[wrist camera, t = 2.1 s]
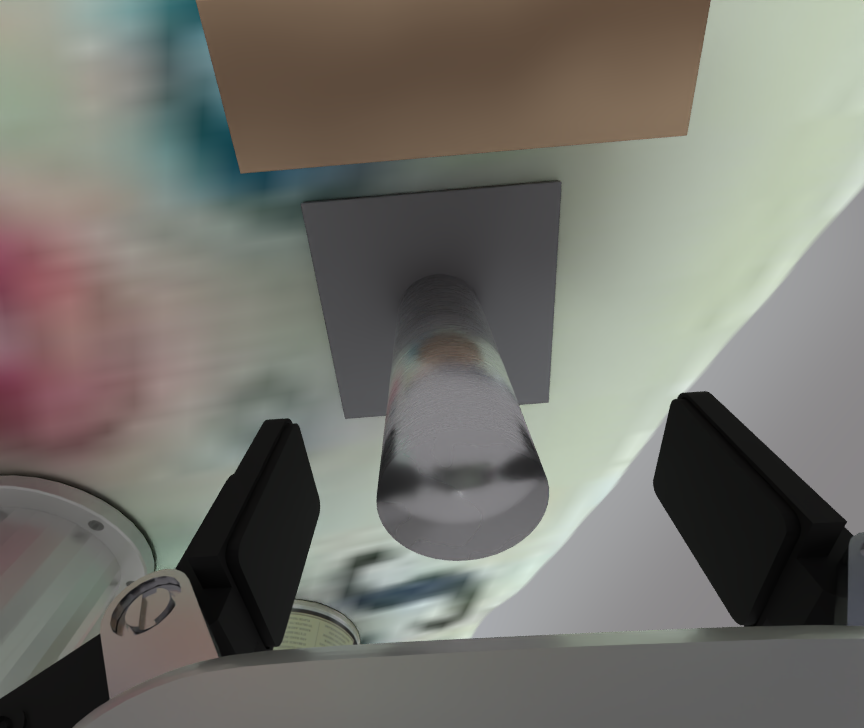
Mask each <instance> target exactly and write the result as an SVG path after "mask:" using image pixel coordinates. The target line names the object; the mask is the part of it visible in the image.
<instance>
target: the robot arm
mask: <svg viewBox="0 0 864 728" xmlns="http://www.w3.org/2000/svg"><path fill="white" fill-rule="evenodd" d="M653 486H654V491H655V493H656V495H657V497H658V499H659V500H660V502H661V503H662V505H663V507H664V508H665V510H666V512H667V513H668V515H669V516H670V518H671V520H672V521H673V523H674V525H675V526H676V528H677V529H678V531H679V533H680V534H681V536H682V537H683V539H684V541H685V542H686V544H687V546H688V547H689V549H690V550H691V552H692V554H693V555H694V557H695V558H696V560H697V561H698V563H699V565H700V567H701V568H702V570H703V571H704V573H705V574H706V576H707V578H708V579H709V581H710V583H711V584H712V586H713V588H714V589H715V591H716V592H717V594H718V596H719V597H720V599H721V601H722V602H723V604H724V605H725V607H726V609H727V610H728V612H729V613H730V615H731V617H732V618H733V619H734V620H735V622H736V623H738V624H740V625H744V627H722V628H698V629H675V630H649V631H625V632H602V633H580V634H558V635H536V636H515V637H494V638H473V639H453V640H434V641H415V642H396V643H377V644H358V645H340V646H326V647H312V648H298V649H284V650H273V648H274V647H279V646H280V645H281V643H282V641H283V638H284V634H285V631H286V628H287V624H288V621H289V617H290V614H291V610H292V607H293V603H294V600H295V596H296V593H297V590H298V586H299V583H300V579H301V576H302V572H303V569H304V565H305V562H306V558H307V555H308V551H309V548H310V545H311V541H312V538H313V534H314V531H315V527H316V524H317V520H318V517H319V513H320V500H319V496H318V492H317V489H316V485H315V481H314V478H313V474H312V470H311V467H310V463H309V460H308V456H307V452H306V449H305V445H304V442H303V438H302V434H301V431H300V427H299V425H298V424H292V421H291V420H290V419H288V418H286V419H271V420H265V421H264V423H263V424H262V426H261V428H260V430H259V431H258V433H257V435H256V437H255V438H254V440H253V442H252V444H251V445H250V447H249V449H248V451H247V452H246V454H245V456H244V458H243V459H242V461H241V463H240V465H239V466H238V468H237V470H236V472H235V473H234V474H233V475H231V476H230V477H229V478H228V480H227V481H226V483H225V484H224V486H223V488H222V489H221V491H220V493H219V495H218V496H217V498H216V500H215V502H214V503H213V505H212V507H211V508H210V510H209V512H208V514H207V515H206V517H205V519H204V520H203V522H202V524H201V526H200V527H199V529H198V531H197V533H196V534H195V536H194V538H193V539H192V541H191V543H190V545H189V546H188V548H187V550H186V551H185V553H184V555H183V557H182V558H181V560H180V562H179V563H178V565H177V567H176V569H164V570H159V571H155V572H154V558H153V555H152V551H151V548H150V547H149V545H148V543H147V541H146V539H145V538H144V536H143V534H142V533H141V532H140V531H139V530H138V529H137V527H136V526H135V525H134V524H133V523H132V522H131V521H130V520H129V519H128V518H126V517H125V516H124V515H123V514H122V513H121V512H119V511H118V510H117V509H115V508H114V507H112V506H110V505H109V504H107V503H106V502H104V501H103V500H101V499H99V498H97V497H95V496H93V495H91V494H89V493H87V492H85V491H82V490H80V489H77V488H74V487H71V486H68V485H66V484H63V483H60V482H55V481H51V480H46V479H42V478H37V477H26V476H16V475H10V476H0V728H864V532H862V533H858V534H857V535H855V536H853V535H852V534H851V533H850V532H849V531H848V530H847V529H846V528H845V527H844V526H845V524H846V523H847V521H846V520H845V519H844V518H842V516H840V515H839V514H838V513H837V512H836V511H835V510H834V509H833V508H832V507H831V506H830V505H829V504H828V503H827V502H826V501H824V500H823V499H822V498H821V497H820V496H819V495H818V494H817V493H816V492H815V491H814V490H813V489H812V488H810V486H808V485H807V484H806V483H805V482H804V481H803V480H802V479H801V478H800V477H799V476H798V475H797V474H796V473H795V472H794V471H792V469H790V468H789V467H788V466H787V465H786V464H785V463H784V462H783V461H782V460H781V459H780V458H779V457H778V456H777V455H776V454H774V453H773V452H772V451H771V450H770V449H769V448H768V447H767V446H766V445H765V444H764V443H763V442H762V441H760V439H758V437H756V436H755V435H754V434H753V433H752V432H751V431H750V430H749V429H748V428H747V427H746V426H744V424H743V423H742V422H740V421H739V420H738V419H737V418H736V417H735V416H734V415H733V414H732V413H731V412H730V411H729V410H728V409H727V408H726V407H725V406H724V405H722V404H721V403H720V402H719V401H718V400H717V399H716V398H715V397H714V396H713V395H712V394H710V393H709V392H705V391H704V392H688V393H681V394H680V395H679V396H678V398H677V399H674V400H673V401H672V402H671V405H670V409H669V413H668V418H667V423H666V427H665V431H664V435H663V440H662V444H661V449H660V453H659V457H658V462H657V466H656V471H655V475H654V479H653Z"/></svg>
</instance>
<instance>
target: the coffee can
mask: <svg viewBox="0 0 864 728" xmlns="http://www.w3.org/2000/svg"><path fill="white" fill-rule="evenodd" d="M358 644H360V637H359V634H358V631H357V629H356V627H355V626H354V624H353V623H352V622H351V621H350V620H349V619H348V618H347V617H345V616H344V615H343V614H341V613H339V612H338V611H336V610H334V609H332V608H329V607H327V606H324V605H321V604H319V603H316V602H308V601H304V600H297V599H295V600H294V603H293V607H292V610H291V614H290V617H289V621H288V624H287V628H286V631H285V634H284V638H283V641H282V643H281V645H280V646H279V647H274V648H273V650H284V649H298V648H312V647H326V646H340V645H358Z"/></svg>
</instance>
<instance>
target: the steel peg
mask: <svg viewBox="0 0 864 728" xmlns="http://www.w3.org/2000/svg"><path fill="white" fill-rule="evenodd" d="M548 499H549V486H548V481H547V478H546V475H545V472H544V470H543V467H542V464H541V462H540V459H539V457H538V454H537V451H536V449H535V446H534V443H533V441H532V438H531V436H530V433H529V430H528V428H527V425H526V422H525V420H524V417H523V414H522V412H521V409H520V407H519V404H518V401H517V399H516V396H515V393H514V391H513V388H512V386H511V383H510V380H509V378H508V375H507V372H506V370H505V367H504V365H503V362H502V359H501V357H500V354H499V351H498V349H497V346H496V343H495V341H494V338H493V336H492V333H491V330H490V328H489V325H488V322H487V320H486V317H485V315H484V312H483V309H482V307H481V304H480V301H479V299H478V296H477V295H476V293H475V291H474V290H473V289H472V288H471V287H470V286H469V285H468V284H467V283H466V282H464V281H463V280H461V279H459V278H457V277H454V276H451V275H445V274H436V275H430V276H426V277H424V278H421V279H419V280H418V281H416V282H415V283H413V284H412V285H411V286H410V287H409V288H408V289H407V290H406V292H405V293H404V294H403V296H402V298H401V301H400V303H399V308H398V315H397V324H396V333H395V342H394V350H393V359H392V368H391V376H390V385H389V394H388V403H387V411H386V420H385V429H384V438H383V446H382V455H381V464H380V472H379V481H378V490H377V510H378V514H379V517H380V519H381V522H382V524H383V526H384V527H385V528H386V530H387V531H388V533H389V534H390V535H391V536H392V537H393V538H394V539H395V540H396V541H398V542H399V543H400V544H402V545H403V546H405V547H406V548H408V549H410V550H412V551H414V552H416V553H418V554H421V555H424V556H427V557H431V558H435V559H442V560H452V561H462V560H474V559H480V558H484V557H488V556H491V555H495V554H498V553H500V552H502V551H505V550H507V549H509V548H511V547H513V546H514V545H516V544H517V543H519V542H520V541H522V540H523V539H524V538H526V537H527V536H528V535H529V534H530V533H531V532H532V531H533V530H534V529H535V528H536V526H537V525H538V524H539V522H540V521H541V519H542V517H543V515H544V513H545V511H546V508H547V505H548Z"/></svg>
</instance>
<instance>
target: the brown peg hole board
mask: <svg viewBox="0 0 864 728" xmlns="http://www.w3.org/2000/svg"><path fill="white" fill-rule="evenodd" d="M710 1H711V0H196V3H197V7H198V11H199V15H200V18H201V22H202V26H203V30H204V34H205V38H206V42H207V45H208V49H209V53H210V57H211V61H212V65H213V68H214V72H215V76H216V80H217V84H218V88H219V92H220V95H221V99H222V103H223V107H224V111H225V115H226V119H227V122H228V126H229V130H230V134H231V138H232V142H233V146H234V149H235V153H236V157H237V161H238V165H239V169H240V172H241V173H252V172H264V171H276V170H287V169H299V168H311V167H322V166H334V165H346V164H358V163H369V162H381V161H393V160H404V159H416V158H428V157H439V156H451V155H463V154H474V153H486V152H498V151H509V150H521V149H533V148H544V147H556V146H568V145H579V144H591V143H603V142H615V141H626V140H638V139H650V138H661V137H673V136H685V135H687V131H688V126H689V120H690V114H691V109H692V103H693V97H694V92H695V86H696V80H697V75H698V69H699V63H700V58H701V52H702V46H703V41H704V35H705V29H706V24H707V18H708V12H709V7H710Z"/></svg>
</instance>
